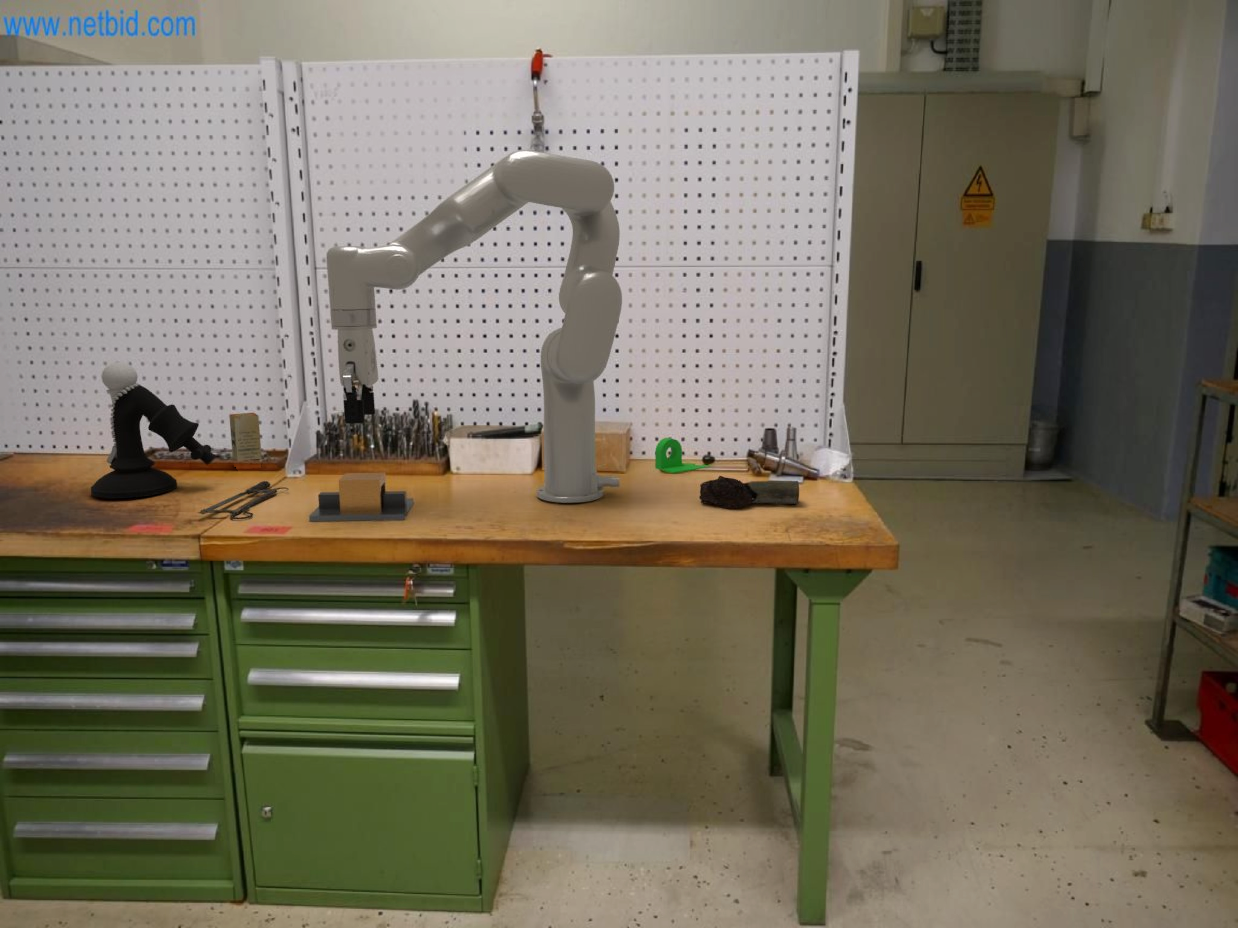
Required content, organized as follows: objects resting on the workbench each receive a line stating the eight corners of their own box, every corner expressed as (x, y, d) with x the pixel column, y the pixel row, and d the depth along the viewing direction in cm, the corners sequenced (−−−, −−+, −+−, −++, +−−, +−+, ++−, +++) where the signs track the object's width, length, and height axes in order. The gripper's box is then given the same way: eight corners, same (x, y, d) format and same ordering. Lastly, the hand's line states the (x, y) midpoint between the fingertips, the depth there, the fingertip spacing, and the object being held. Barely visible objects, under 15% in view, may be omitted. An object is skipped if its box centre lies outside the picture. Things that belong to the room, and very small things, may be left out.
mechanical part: (672, 481, 196) (673, 443, 194) (655, 476, 201) (655, 439, 199) (717, 474, 203) (717, 437, 201) (699, 469, 207) (699, 433, 206)
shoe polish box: (257, 466, 209) (253, 412, 206) (262, 470, 205) (258, 415, 202) (233, 469, 206) (229, 414, 204) (238, 473, 202) (233, 417, 200)
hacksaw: (262, 486, 188) (261, 479, 188) (310, 485, 186) (309, 478, 186) (191, 521, 165) (190, 513, 164) (245, 520, 163) (244, 512, 163)
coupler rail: (413, 503, 176) (412, 484, 175) (403, 519, 164) (403, 500, 163) (325, 504, 175) (324, 486, 174) (309, 521, 163) (308, 501, 162)
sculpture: (114, 481, 194) (101, 358, 189) (232, 480, 195) (222, 358, 190) (75, 498, 179) (60, 366, 174) (202, 498, 180) (191, 366, 175)
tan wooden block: (386, 502, 172) (385, 472, 171) (380, 510, 166) (379, 479, 165) (347, 502, 172) (345, 473, 171) (340, 511, 166) (338, 480, 165)
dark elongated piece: (796, 501, 175) (795, 471, 174) (800, 509, 168) (800, 478, 167) (699, 503, 176) (699, 473, 175) (700, 511, 169) (700, 480, 168)
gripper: (366, 322, 154) (373, 426, 158) (384, 317, 171) (390, 411, 175) (319, 323, 154) (327, 427, 157) (342, 318, 171) (349, 412, 174)
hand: (360, 418), depth 166 cm, fingers open, 9 cm apart
